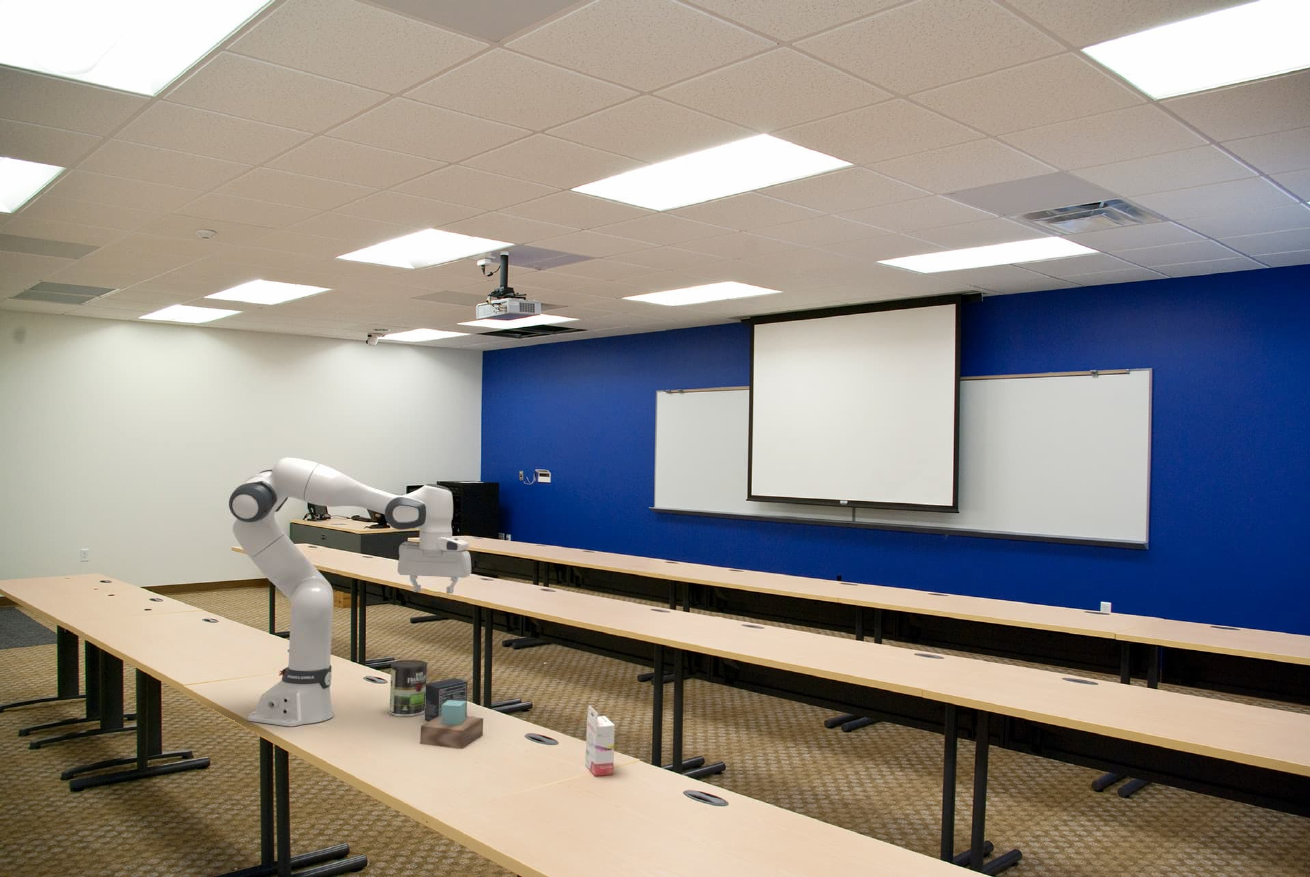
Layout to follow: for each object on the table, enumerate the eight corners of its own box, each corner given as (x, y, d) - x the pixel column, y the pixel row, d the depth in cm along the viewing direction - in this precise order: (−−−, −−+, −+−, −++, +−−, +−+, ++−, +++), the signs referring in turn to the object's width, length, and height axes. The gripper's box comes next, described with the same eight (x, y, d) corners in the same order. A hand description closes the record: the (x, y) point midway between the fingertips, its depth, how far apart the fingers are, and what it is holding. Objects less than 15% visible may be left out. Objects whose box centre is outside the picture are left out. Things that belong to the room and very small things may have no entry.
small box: (453, 712, 251) (455, 676, 251) (467, 717, 247) (469, 680, 247) (423, 720, 242) (424, 682, 243) (437, 725, 238) (438, 687, 239)
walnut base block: (419, 745, 222) (420, 725, 222) (442, 732, 233) (443, 713, 234) (461, 750, 219) (462, 730, 219) (482, 736, 230) (483, 718, 231)
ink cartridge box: (614, 774, 204) (616, 712, 204) (594, 776, 202) (596, 714, 203) (603, 763, 212) (605, 703, 212) (584, 764, 210) (586, 704, 211)
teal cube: (440, 724, 224) (441, 705, 224) (447, 719, 229) (448, 700, 229) (459, 725, 223) (460, 706, 224) (465, 720, 228) (466, 701, 229)
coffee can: (432, 711, 251) (434, 663, 251) (403, 719, 243) (405, 669, 243) (410, 705, 257) (412, 658, 258) (381, 712, 249) (383, 663, 249)
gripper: (395, 542, 236) (392, 592, 235) (467, 545, 234) (464, 595, 233) (403, 540, 242) (401, 589, 241) (474, 543, 240) (472, 592, 239)
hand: (433, 592), depth 237 cm, fingers open, 8 cm apart
